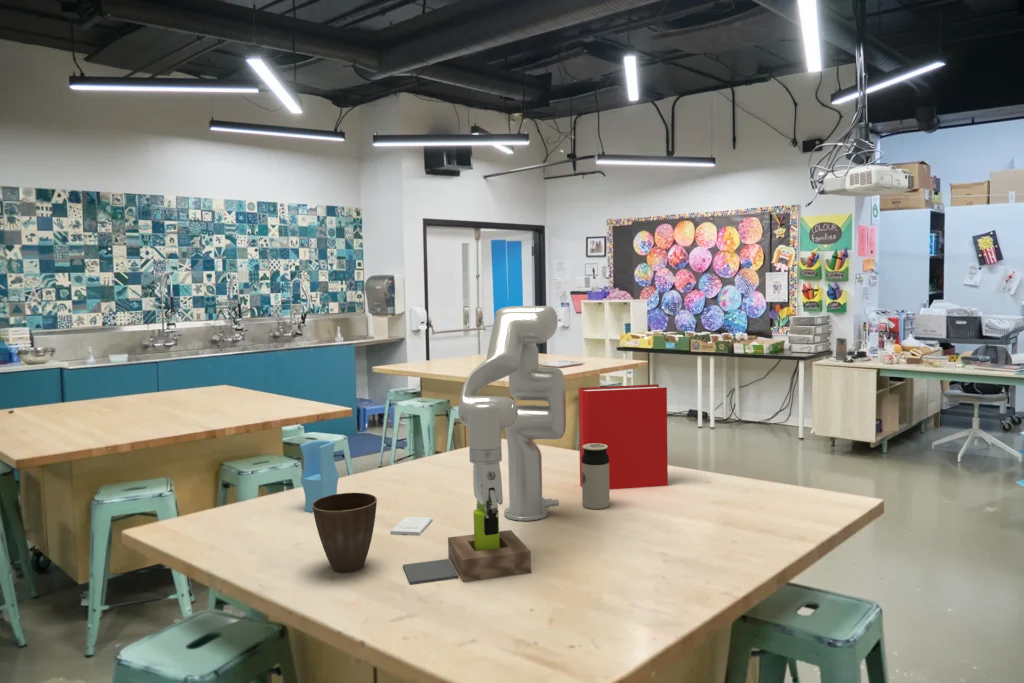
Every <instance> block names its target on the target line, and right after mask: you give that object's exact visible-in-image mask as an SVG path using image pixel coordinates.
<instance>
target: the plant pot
mask: <svg viewBox="0 0 1024 683" xmlns="http://www.w3.org/2000/svg"><path fill="white" fill-rule="evenodd" d="M377 501H378V499H377V497H376V496H375V495H373V494H369V493H366V492H344V493H337V494H335V495H330V496H326V497H323V498H320V499H318V500H316V501H315V502H314V503H313V504H312V507H313V512H312V513H313V516H314V521H315V526H316V529H317V533H318V536H319V539H320V542H321V545H322V549H323V550H324V553H325V557H326V558H327V560H328V563H329V565H330V567H331V569H332V571H333V572H335V573H336V572H337V573H341V574H342V573H343V574H344V573H353V572H357V571H360V570H361V569H362V568H364V567H365V562H366V560H367V556H368V554H369V551H370V546H371V543H372V537H373V533H374V528H375V521H376V516H377V515H376V514H377V513H376V512H377V503H378V502H377Z"/></svg>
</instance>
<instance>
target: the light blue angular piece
mask: <svg viewBox="0 0 1024 683" xmlns="http://www.w3.org/2000/svg"><path fill="white" fill-rule="evenodd" d="M335 444H336V441H335V440H323V439H316V440H315V439H314V440H311V441H308V442H305V443H302V444H300V445H299V447H300V450H301V453H302V456H303V462H304V463H303V471H302V474H301V477H300V482H301V485H302V488H303V492H304V498H305V500H304V502H305V504H304V512H307V513H313V507H312V504H313V503H314V502H315V501H316V500H318V499H320V498H323V497H326V496H330V495H335V494H338V482H339V477H340V474H339V472H338V469H337V467H336V463H335V458H334V452H335Z"/></svg>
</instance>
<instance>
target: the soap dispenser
mask: <svg viewBox="0 0 1024 683" xmlns="http://www.w3.org/2000/svg"><path fill="white" fill-rule="evenodd" d="M478 502H479V501H478ZM486 503H487V504H491V503H490V502H486ZM489 509H491V507H488V511H489ZM499 513H500V512H499V510H498V534H493V535H485V534H484V518H486V517H485V509H484V506H483V505H482V504H481V503H480V502H479V509H477V508H476V509H474V510H473V533H474V541H475V551H481V550H489V549H497V548H500V542H499V531H500V519H499V518H500V516H499Z"/></svg>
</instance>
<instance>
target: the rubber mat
mask: <svg viewBox="0 0 1024 683" xmlns="http://www.w3.org/2000/svg"><path fill="white" fill-rule="evenodd" d="M402 568H403V571H404V573H405V576H406V578H407V582H408V583H409V585H415V584H424V583H430V582H431V583H433V582H439V581H446V580H455V579H459V574H458V573H457V571H456V569H455V568H454V566H453V564H452V562H451V561H450V559H449V558H446V559H436V560H430V561H429V560H428V561H420V562H413V563H405V564H402Z"/></svg>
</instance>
